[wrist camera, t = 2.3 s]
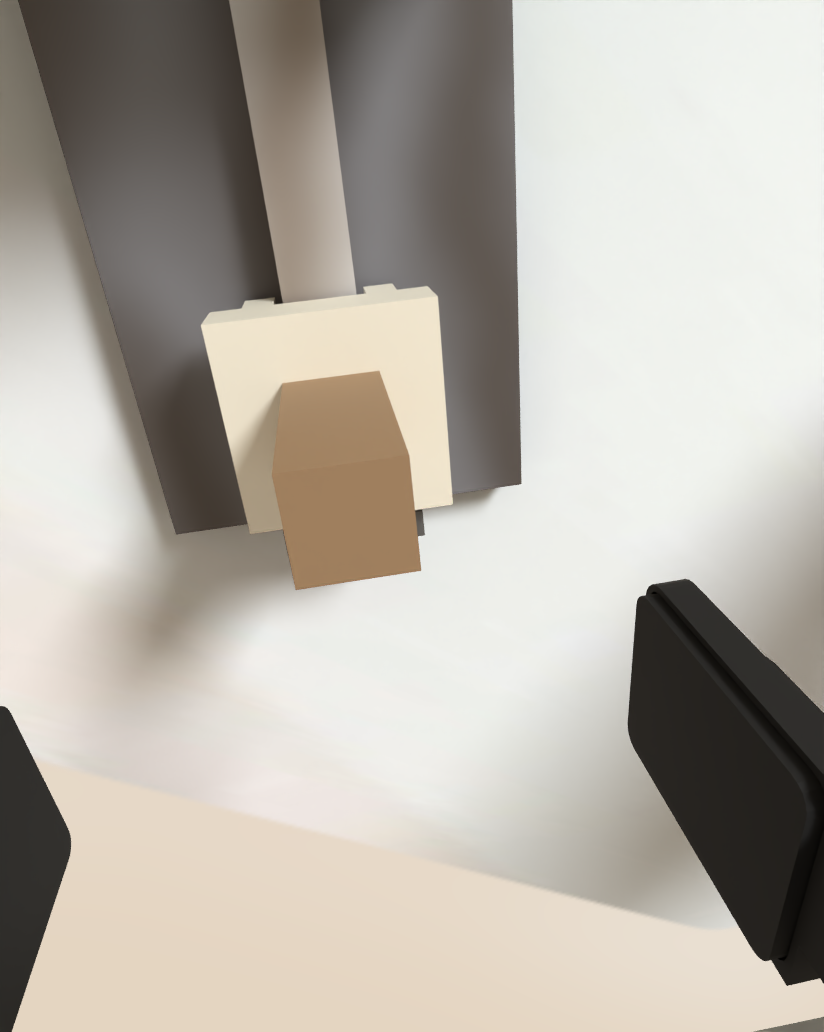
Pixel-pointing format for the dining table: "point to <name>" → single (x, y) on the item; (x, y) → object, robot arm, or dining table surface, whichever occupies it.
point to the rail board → (217, 221)
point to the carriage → (336, 425)
